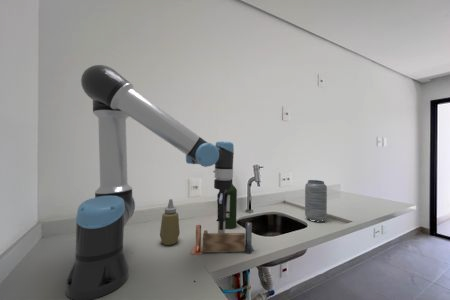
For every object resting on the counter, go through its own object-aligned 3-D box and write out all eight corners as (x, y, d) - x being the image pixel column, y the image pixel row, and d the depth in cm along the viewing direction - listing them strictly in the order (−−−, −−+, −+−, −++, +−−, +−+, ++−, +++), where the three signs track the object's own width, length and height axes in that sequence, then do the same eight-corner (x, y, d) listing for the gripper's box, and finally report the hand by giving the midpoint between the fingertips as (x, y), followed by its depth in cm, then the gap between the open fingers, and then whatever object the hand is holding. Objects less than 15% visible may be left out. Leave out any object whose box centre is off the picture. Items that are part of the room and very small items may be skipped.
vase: (330, 221, 113) (330, 181, 114) (319, 224, 107) (319, 182, 107) (311, 215, 123) (312, 179, 123) (300, 218, 116) (301, 180, 117)
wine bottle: (218, 226, 101) (219, 168, 102) (228, 222, 107) (229, 168, 108) (229, 230, 96) (230, 169, 97) (239, 226, 102) (240, 169, 103)
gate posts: (251, 246, 80) (252, 219, 80) (254, 254, 73) (255, 225, 73) (193, 245, 79) (193, 218, 79) (190, 254, 72) (191, 224, 72)
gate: (244, 249, 76) (244, 229, 76) (244, 251, 74) (245, 231, 74) (202, 249, 74) (203, 230, 75) (202, 251, 73) (203, 231, 73)
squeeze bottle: (173, 236, 87) (174, 196, 88) (183, 242, 82) (184, 199, 82) (156, 242, 82) (157, 199, 82) (165, 249, 76) (166, 202, 76)
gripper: (217, 176, 87) (215, 229, 87) (211, 180, 74) (208, 242, 74) (233, 177, 86) (231, 231, 86) (230, 181, 73) (228, 244, 73)
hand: (221, 236), depth 80 cm, fingers closed
